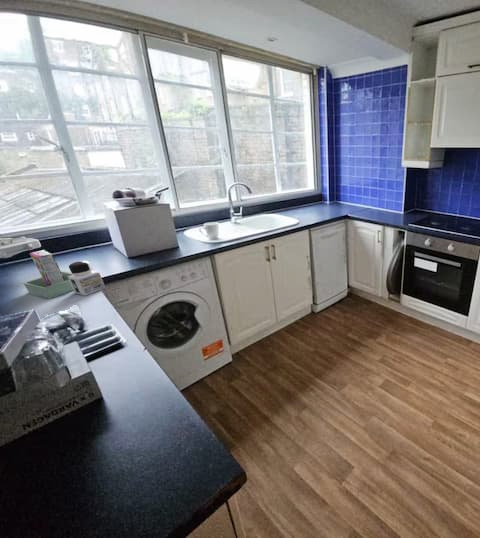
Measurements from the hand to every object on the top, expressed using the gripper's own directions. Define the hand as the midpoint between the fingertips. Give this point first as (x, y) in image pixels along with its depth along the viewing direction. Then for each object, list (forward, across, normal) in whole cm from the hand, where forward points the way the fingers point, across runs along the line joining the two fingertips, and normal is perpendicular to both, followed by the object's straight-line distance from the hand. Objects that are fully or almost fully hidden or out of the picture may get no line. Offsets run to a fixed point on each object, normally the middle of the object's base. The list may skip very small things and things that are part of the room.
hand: (17, 251), depth 130 cm
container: (+36, +4, +16) cm, 40 cm away
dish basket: (+20, 0, +16) cm, 26 cm away
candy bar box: (+20, 0, +16) cm, 25 cm away
